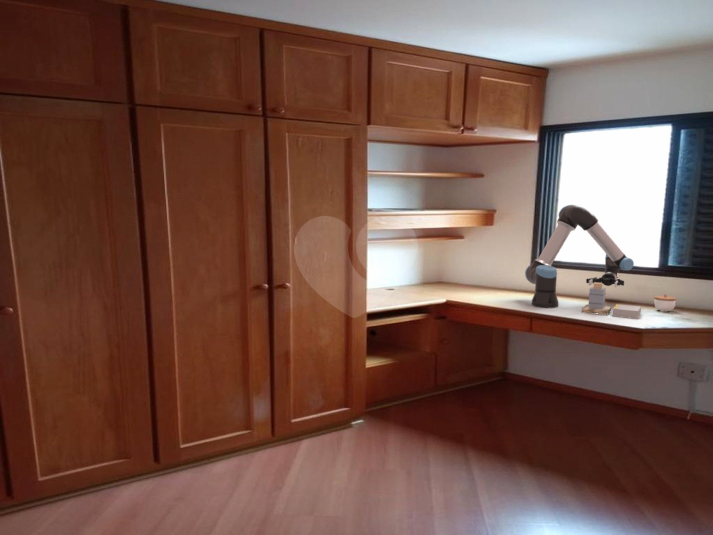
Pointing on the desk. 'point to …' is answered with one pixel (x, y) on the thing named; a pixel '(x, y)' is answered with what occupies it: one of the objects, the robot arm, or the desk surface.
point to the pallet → (596, 310)
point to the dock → (626, 311)
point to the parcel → (597, 285)
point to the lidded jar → (664, 302)
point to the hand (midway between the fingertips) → (602, 283)
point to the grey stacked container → (597, 298)
